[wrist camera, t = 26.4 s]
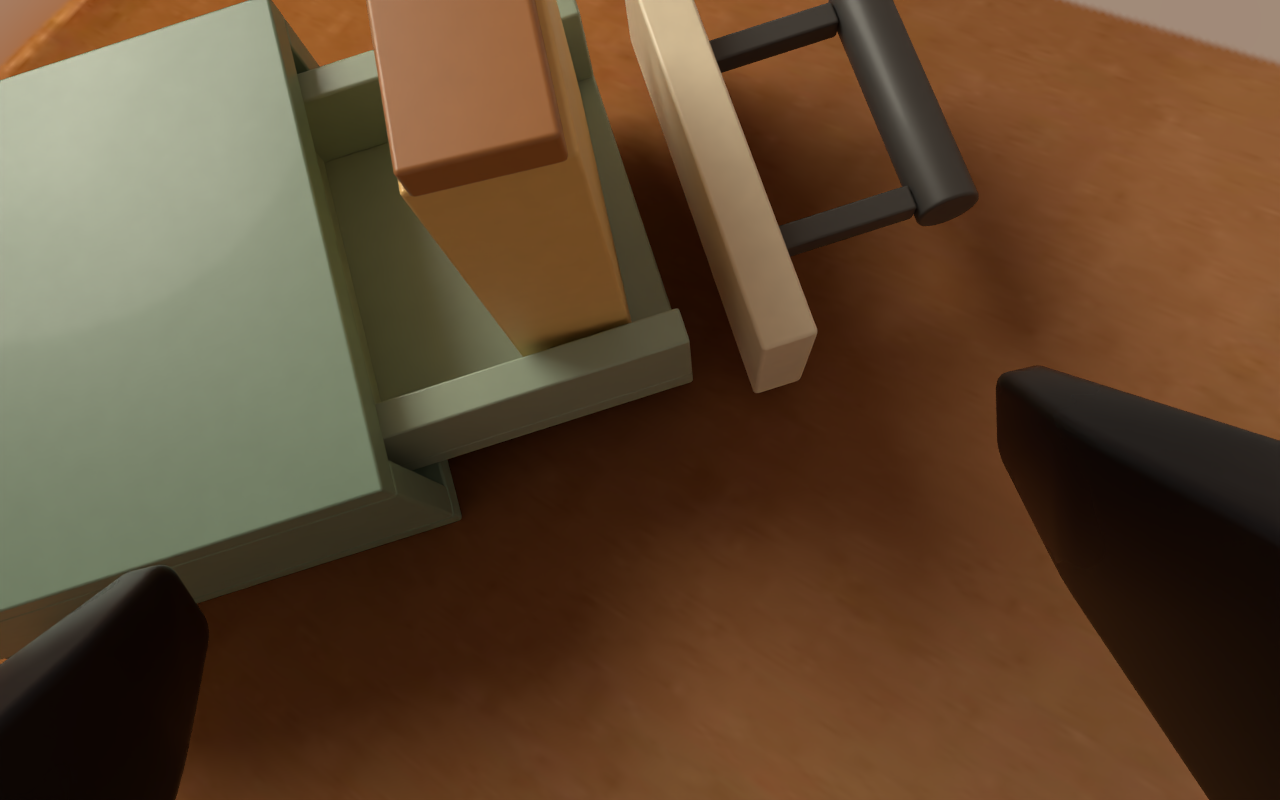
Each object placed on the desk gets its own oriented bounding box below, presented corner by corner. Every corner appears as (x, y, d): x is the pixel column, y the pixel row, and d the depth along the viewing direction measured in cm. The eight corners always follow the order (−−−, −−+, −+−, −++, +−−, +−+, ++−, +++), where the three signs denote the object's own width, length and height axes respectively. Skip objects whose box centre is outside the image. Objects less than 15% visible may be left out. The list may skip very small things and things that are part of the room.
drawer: (838, -27, 24) (861, -143, 20) (987, 321, 21) (1044, 261, 18) (303, 144, 24) (229, 60, 20) (388, 511, 22) (321, 490, 18)
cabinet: (363, 126, 25) (266, -7, 20) (463, 519, 22) (383, 490, 17) (-25, 251, 25) (-228, 152, 20) (25, 658, 22) (-195, 674, 17)
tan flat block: (638, 355, 21) (572, 133, 11) (535, 378, 21) (380, 178, 11) (579, 89, 23) (478, -303, 13) (484, 112, 23) (312, -260, 13)
